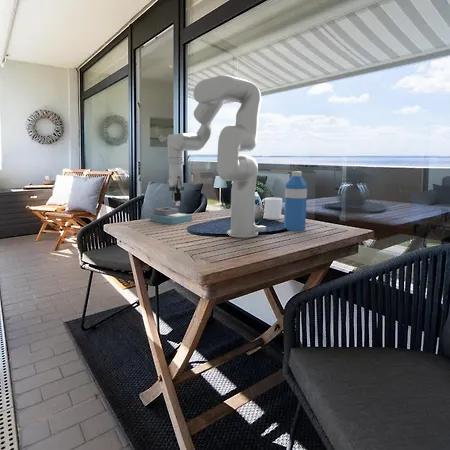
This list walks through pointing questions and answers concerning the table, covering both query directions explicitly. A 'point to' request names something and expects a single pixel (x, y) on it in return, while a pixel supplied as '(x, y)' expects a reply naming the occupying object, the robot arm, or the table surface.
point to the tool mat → (177, 215)
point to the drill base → (163, 217)
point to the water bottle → (295, 202)
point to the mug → (273, 208)
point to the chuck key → (176, 203)
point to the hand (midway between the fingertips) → (176, 200)
